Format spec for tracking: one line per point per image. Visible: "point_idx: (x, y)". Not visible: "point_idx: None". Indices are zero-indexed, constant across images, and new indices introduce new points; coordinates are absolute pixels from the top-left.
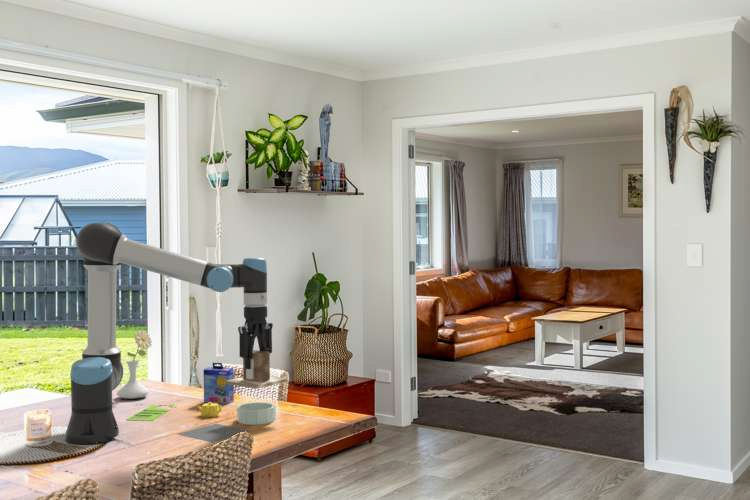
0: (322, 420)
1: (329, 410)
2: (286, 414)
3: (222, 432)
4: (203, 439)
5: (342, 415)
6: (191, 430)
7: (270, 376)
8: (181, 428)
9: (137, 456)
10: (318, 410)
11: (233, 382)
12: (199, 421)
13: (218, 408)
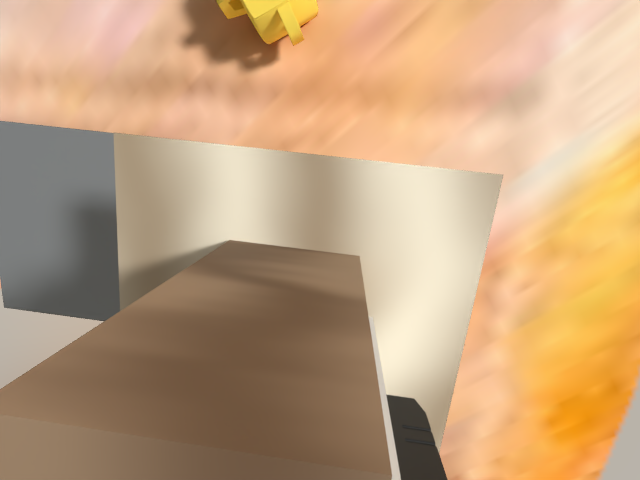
0: (457, 429)
1: (625, 378)
2: (488, 268)
3: (101, 257)
4: (3, 261)
5: (560, 453)
6: (47, 133)
7: (449, 350)
8: (75, 38)
9: None
10: (609, 341)
11: (119, 230)
12: (200, 12)
13: (310, 4)
